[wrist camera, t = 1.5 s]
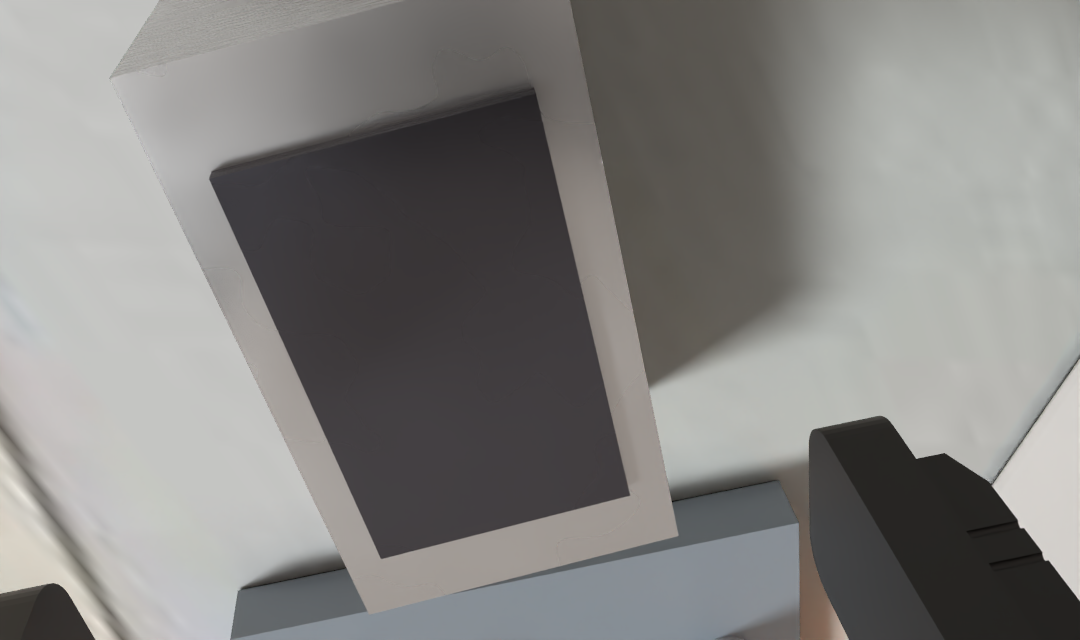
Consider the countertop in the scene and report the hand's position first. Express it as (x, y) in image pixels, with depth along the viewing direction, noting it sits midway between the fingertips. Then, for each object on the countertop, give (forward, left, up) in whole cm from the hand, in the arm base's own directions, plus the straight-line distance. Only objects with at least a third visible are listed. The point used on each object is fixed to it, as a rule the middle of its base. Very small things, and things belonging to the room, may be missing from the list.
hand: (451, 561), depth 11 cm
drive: (-1, 0, -7) cm, 7 cm away
